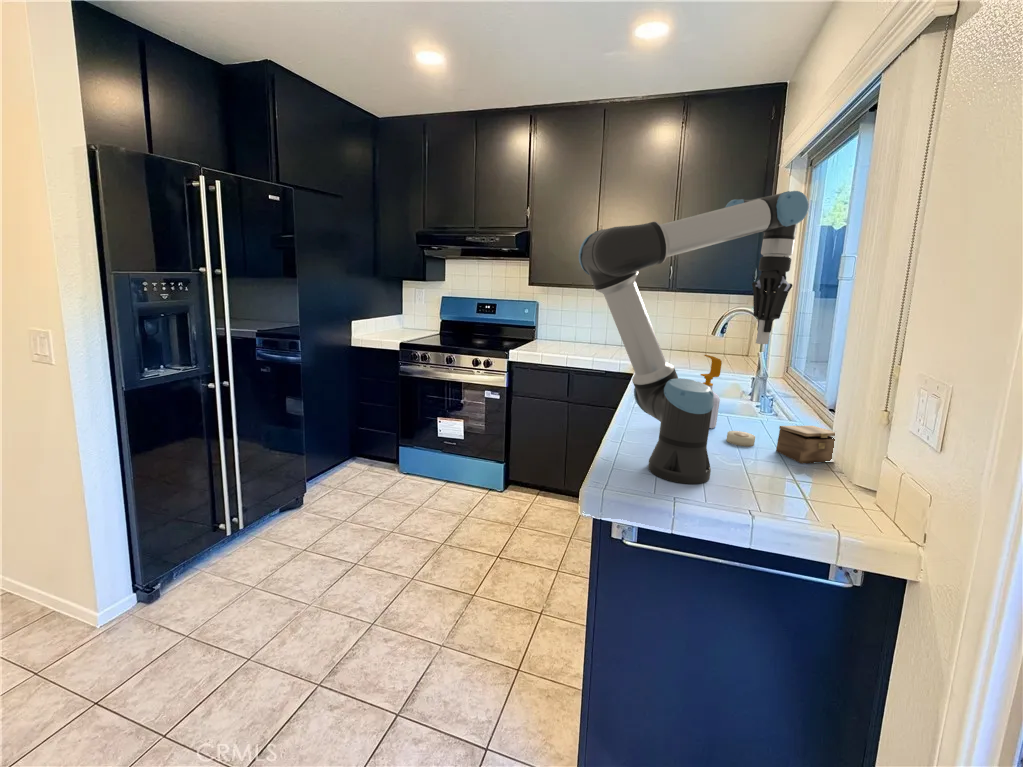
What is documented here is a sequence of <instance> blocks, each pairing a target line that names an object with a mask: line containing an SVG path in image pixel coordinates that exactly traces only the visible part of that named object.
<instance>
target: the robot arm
mask: <svg viewBox="0 0 1023 767" xmlns="http://www.w3.org/2000/svg"><path fill="white" fill-rule="evenodd" d="M809 207H810V206H809V199H808V197H807V195H806V194H804V193H803V192H801V191H799V190H792V191H790V190H787V191H783V192H781V193H777V194H773V195H768V196H763V197H758V198H753V199H744V198H741V199H731V200H730V201H728V202H727V204H726V205H725V207H722V208H718V209H715V210H712V211H707V212H704V213H703V212H702V213H700V214H695V215H693V216H688V217H685V218H680V219H677V220H673V221H670V222H669V221H668V222H665V223H661V224H660V223H659V222H657V221H650V222H648V223H641V224H634V225H622V226H620V225H619V226H614V227H610V228H605V229H603V228H602V229H600V230H596V231H593V232H592V233H590V234H589V235H588V236H586V237H585V239H583V241H582V243H581V245H580V247H579V250H578V262H579V265H580V267H581V269H582V270H583V271H584V273H586V275H588V276H589V277H590V279H591V282H592V284H593V285H592V286H593V287H594V289H595V291H596V292H598V293H601V294H602V295H603V296H604V298H605V301H606V303H607V306H608V309H609V310H610V314H611V316H612V318H613V321H614V323H615V326H616V329H617V331H618V333H619V336H620V339H621V341H622V343H623V345H624V350H626V353H627V356H628V358H629V360H630V363H631V366H632V369H633V371H634V374H633V376H632V384H633V387H634V389H633V397H634V400H635V402H636V404H637V406H638V407H639V408H640V409H641V410H642V411H643V412H644V413H646V414H647V415H649V416H650V417H653V418H654V419H655V420H658V421H659V422H660V424H659V426H660V427H659V433H658V439H657V440H658V441H657V442H656V444H655V446H654V448H653V451H652V452H651V455H650V457H649V458H648V463H647V464H648V465H647V469H648V470H650V471H649V472H650V473H651V474H653V475H655V476H656V477H659V478H661V479H663V480H666V481H668V482H673V483H680V484H688V485H691V484H692V485H695V484H696V485H697V484H702V483H706V482H708V481H709V480H710V477H711V472H712V471H711V470H712V469H711V463H710V459H709V454H708V448H707V446H708V440H709V439H708V438H709V434H710V429H709V427H710V420H711V414H712V408H713V404H714V403H713V397H714V394H713V392H714V391H712V390H713V388H712V389H711V388H710V387H709V386H707V385H705V384H703V382H701V381H696V380H693V379H689V378H679V377H678V374H677V372H676V368H675V366H674V364H672V363H670V362H668V361H666V359H665V355H664V353H663V350H662V348H661V346H660V343H659V339H658V338H657V335H656V332H655V329H654V327H653V324H652V321H651V319H650V317H649V314H648V312H647V308H646V306H645V303H644V300H643V298H642V296H641V293H640V290H639V287H638V285H637V282H636V279H637V278H638V274H639V271H642V270H644V269H647V268H650V267H654V266H657V265H661V264H663V263H664V262H665V261H666V260H667V258H669V257H673V256H676V255H681V254H684V253H687V252H692V251H695V250H698V249H702V248H707V247H710V246H712V245H713V246H714V245H717V244H721V243H724V242H728V241H732V240H736V239H740V238H743V237H746V236H750V235H755V234H758V233H763V238H762V244H761V249H760V254H761V257H760V258H759V262H758V263H759V265H758V271H759V272H760V275H759V278H758V280H757V281H753V282H751V286H752V290H753V317H756V318H757V320H758V321H757V328H756V330H757V334H756V339H755V344H758V345H769V341H770V340H769V339H770V336H771V335H770V334H771V332H772V328H773V322H774V320H779V319H780V317H781V315H782V312H783V310H784V306H785V303H786V300H787V298H788V295H789V292H790V291H791V290H792V288H793V284H792V283H791V282H790V283H789V282H788V281H787V273H788V272H789V271H790V270H791V264H792V258H791V257H790V256H792V255H793V252H794V245H795V244H794V243H795V241H796V240H795V239H796V234H797V229H798V224H799V223H801V222H802V221H803V220H804V219H805V218H806V216H808V212H809Z"/></svg>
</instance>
